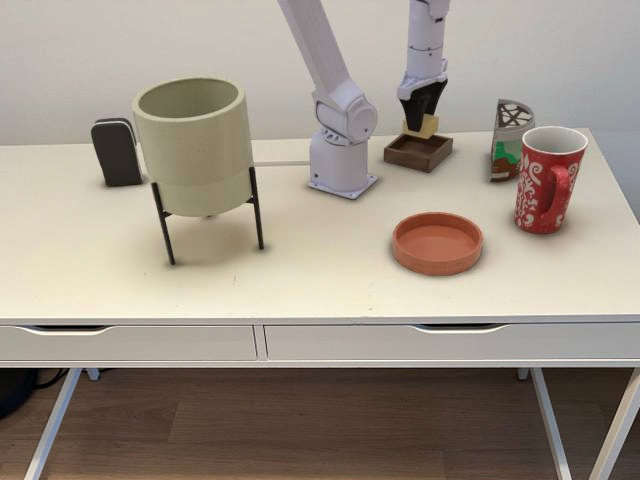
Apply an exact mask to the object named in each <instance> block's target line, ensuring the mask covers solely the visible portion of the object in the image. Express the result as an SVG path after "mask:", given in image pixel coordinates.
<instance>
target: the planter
mask: <svg viewBox="0 0 640 480" xmlns="http://www.w3.org/2000/svg"><path fill="white" fill-rule="evenodd" d="M131 110H132V114H133V119H134V123H135V127H136V132H137V135H138V140H139V144H140V147H141V152H142V156H143V160H144V164H145V165H144V166H145V169H146V173H147V176H148V181H149V184H150V190H151V193H152V197H153V201H154V203H155V207H156V211H157V215H158V219H159V223H160V228H161V231H162V236H163V240H164V245H165V248H166V253H167V257H168V260H169V264H170V265H171V266H174V265H176V259H175V255H174V251H173V246H172V243H171V237H170V233H169V230H168V225H167V221H166V218H169V217H170V216H173V215H175V216H180V217H185V218H203V217H207V218H210V217H212V216H218V215H220V214H224V213H227V212H230V211H232V210H234V209H237V208H239V207H241V206H242V205H243V204H250V205H253V211H254V212H253V213H254V219H255V220H254V221H255V226H256V235H257V243H258V249H259V250H261V251H264V249H265V243H264V233H263V226H262V225H263V224H262V217H261V208H260V200H259V191H258V183H257V175H256V167H255V160H254V152H253V145H252V135H251V128H250V126H251V125H250V119H249V110H248V102H247V93H246V89H245V87H244V86H243V85H242V83H239V81H236V80H234V79H232V78H228V77H224V76H219V75H211V74H210V75H207V74H196V75H184V76H180V77H174V78H169V79H166V80H162V81H159V82H156V83H154V84H151V85H150V86H149V85H148V86H147V87H146V88H143V89H142V90H141V91H139V92H138V93H137V94H136V95H135V96H134V97H133V99H132V101H131Z"/></svg>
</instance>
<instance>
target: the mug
mask: <svg viewBox="0 0 640 480" xmlns="http://www.w3.org/2000/svg"><path fill="white" fill-rule="evenodd" d="M589 141H590V140H589V139H588V137H587V136H586V135H584V134H583V133H582V132H580V131H579V130H576V129H572V128H570V127H565V126H557V125H545V126H539V127H535V128H534V129H531V130H529V131H527V132H525V133H524V134H523V136H522V144H523V145H522V154H521V162H520V172H519V174H518V182H517V191H516V198H515V206H514V207H515V208H514V214H513V220H514V223H515V225H516V226H517V227H518V228H520V229H521V230H523V231H525V232H529V233H532V234H540V235H541V234H551V233H554V232H556V231H559V230H560V229H561V228H562V226H563V224H564V222H565V221H564V220H565V218H566V214H567V211H568V207H569V204H570V201H571V197H572V195H573V192H574V188H575V184H576V181H577V178H578V176H579V172H580V168H581V166H582V162H583V158H584V156H585V153H586V150H587V148H588V146H589Z"/></svg>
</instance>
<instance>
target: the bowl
mask: <svg viewBox="0 0 640 480" xmlns="http://www.w3.org/2000/svg"><path fill="white" fill-rule="evenodd" d="M483 242H484V236H483V232H482V230H481V229H480V228H479V225H477V224H476V223H474V222H473V221H472V220H470V219H468V218H466V217H464V216H462V215H459V214H455V213H451V212H443V211H426V212H420V213H416V214H413V215H409V216H407V217H406V218H404V219H402V220H400V222H398V223H397V224H396V225H395V226H394V229H393V231H392V243H391V245H392V249H391V251H392V254H393V257H394V258H395V259H396V261H397V262H398V263H399V264H400V265H401V266H403V267H404V268H406V269H408V270H409V271H413V272H415V273H419V274H423V275H429V276H450V275H455V274H458V273H459V274H460V273H462V272H465V271H467V270H469V269H471V268H472V267H473V266H475V264H476V263H477V262H478V261H479V260H480V257H481V254H482V253H481V252H482V247H483Z"/></svg>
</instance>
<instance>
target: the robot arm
mask: <svg viewBox="0 0 640 480" xmlns="http://www.w3.org/2000/svg"><path fill="white" fill-rule="evenodd" d="M276 1H277V3H278V5H279V7H280V10H281V12H282V14H283V16H284V19H285V21H286V23H287V25H288V27H289V30H290V32H291V34H292V37H293V39H294V41H295V43H296V46H297V48H298V50H299V52H300V54H301V57H302V59H303V61H304V64H305V66H306V69H307V70H308V73H309V75H310V77H311V79H312V81H313V84H314V87H313V89H312V90H311V92H310V95H311V97H312V99H313V100H312V101H313V105H314V106H313V108H314V109H313V111H314V116H315V120H316V121H317V122H318V124H321V128H319V129H317V130H316V131H315V132H314V134H313V135H312V137H311V140H310V143H309V150H308V153H309V154H308V155H309V174H310V175H309V176H310V181H309V182H308V186H307V187H310V188H312V189H316V190H320V191H323V192H326V193H329V194H333V195H336V196H339V197H343V198H347V199H350V200H356V199H357V198H358V197H359V196H361V195H362V194H363V193H364V192H365V191H367V189H369V187H371V186H372V185H373V184H374V183H375V182H376V181H377V180H378V177H377V176H375V175H371V174H368V161H369V160H368V156H369V153H368V151H369V148H368V147H369V140H370V139H371V136H372V135H373V134H374V132H375V130H376V128H377V124H378V119H379V114H378V110H377V107H376V106H375V105H374V104H373V103H371V102H369V101H368V99H367V96H366V94H365V92H364V91H363V89H362V88H361V87H360V86H359V85H358V84H357V83H356V81H354V80H353V79H352V77H351V75H350V73H349V70H348V68H347V64H346V62H345V60H344V58H343V55H342V52H341V49H340V47H339V44H338V42H337V39H336V37H335V34H334V32H333V29H332V26H331V24H330V21H329V18H328V16H327V14H326V11H325V8H324V6H323V3H322V1H321V0H276ZM451 1H452V0H409V7H408V10H409V11H408V27H407V28H408V29H407V30H408V31H407V48H406V49H407V50H406V69H405V72H404V74H403V76H402V78H401V82H400V84H399V85H398V86H397V87H396V99H398V101H399V102H400V104H401V106H402V107H401V108H402V109H403V112H404V116H405V118H406V122H407V127H408V130H410V131H414V132H419V131H420V130H421V127H422V123H423V117H424V114H428V115H433V116H435V113H436V110H437V108H438V103H439V100H440V98H441V96H442V93H443V92H444V90H445V88H446V86H447V85H448V81H449V78H448V73H445V72H446V71H447V70H448V61H449V58H447V57H443V51H444V39H445V27H446V19H447V17H446V16H447V15H448V12H450V5H451Z"/></svg>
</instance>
